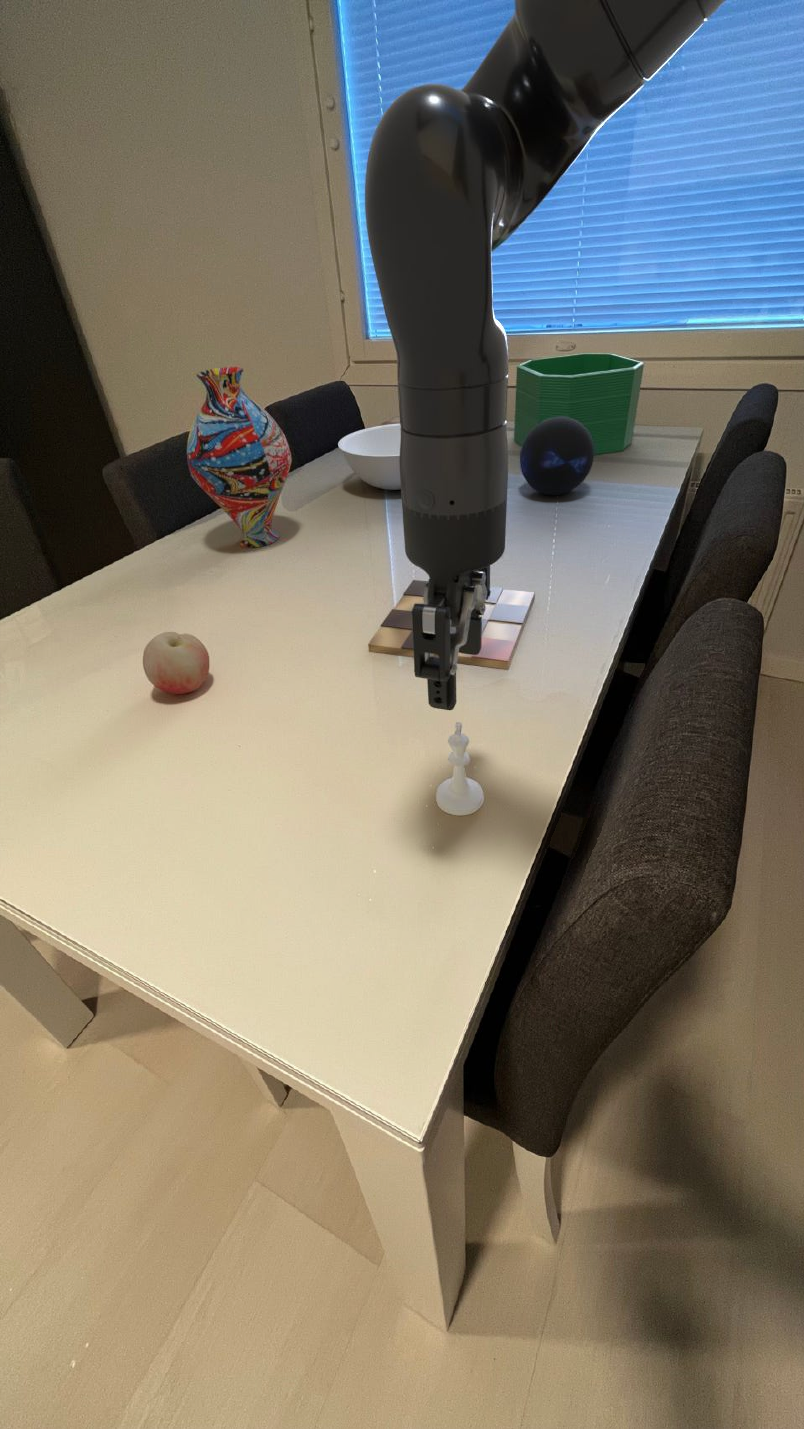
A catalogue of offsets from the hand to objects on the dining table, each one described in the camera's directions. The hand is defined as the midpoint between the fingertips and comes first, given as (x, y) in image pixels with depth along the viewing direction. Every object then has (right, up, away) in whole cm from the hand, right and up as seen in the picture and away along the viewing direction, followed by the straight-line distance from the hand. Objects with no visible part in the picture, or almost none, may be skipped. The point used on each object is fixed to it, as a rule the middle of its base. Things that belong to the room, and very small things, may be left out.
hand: (456, 677), depth 53 cm
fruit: (-34, 0, +29) cm, 45 cm away
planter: (+40, +68, +105) cm, 132 cm away
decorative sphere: (+28, +44, +77) cm, 93 cm away
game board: (+3, +10, +37) cm, 39 cm away
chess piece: (+1, -12, +10) cm, 16 cm away
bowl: (-5, +51, +90) cm, 104 cm away
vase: (-34, +32, +69) cm, 83 cm away
